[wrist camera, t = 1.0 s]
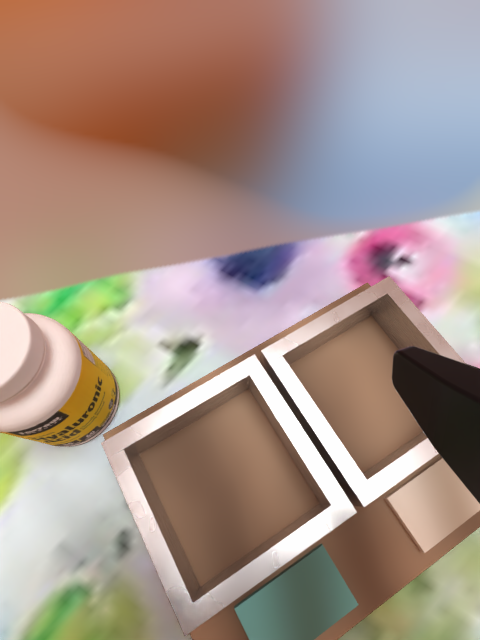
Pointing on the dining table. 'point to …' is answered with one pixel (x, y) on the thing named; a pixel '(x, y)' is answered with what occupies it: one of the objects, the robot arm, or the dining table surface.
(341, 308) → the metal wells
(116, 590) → the dining table surface
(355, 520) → the socket board
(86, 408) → the supplement bottle
